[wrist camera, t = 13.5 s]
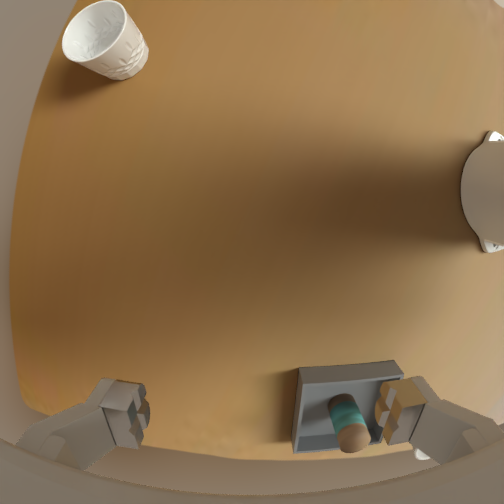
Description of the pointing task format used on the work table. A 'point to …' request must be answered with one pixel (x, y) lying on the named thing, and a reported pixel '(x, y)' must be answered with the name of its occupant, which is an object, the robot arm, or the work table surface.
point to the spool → (348, 423)
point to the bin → (324, 389)
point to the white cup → (105, 41)
